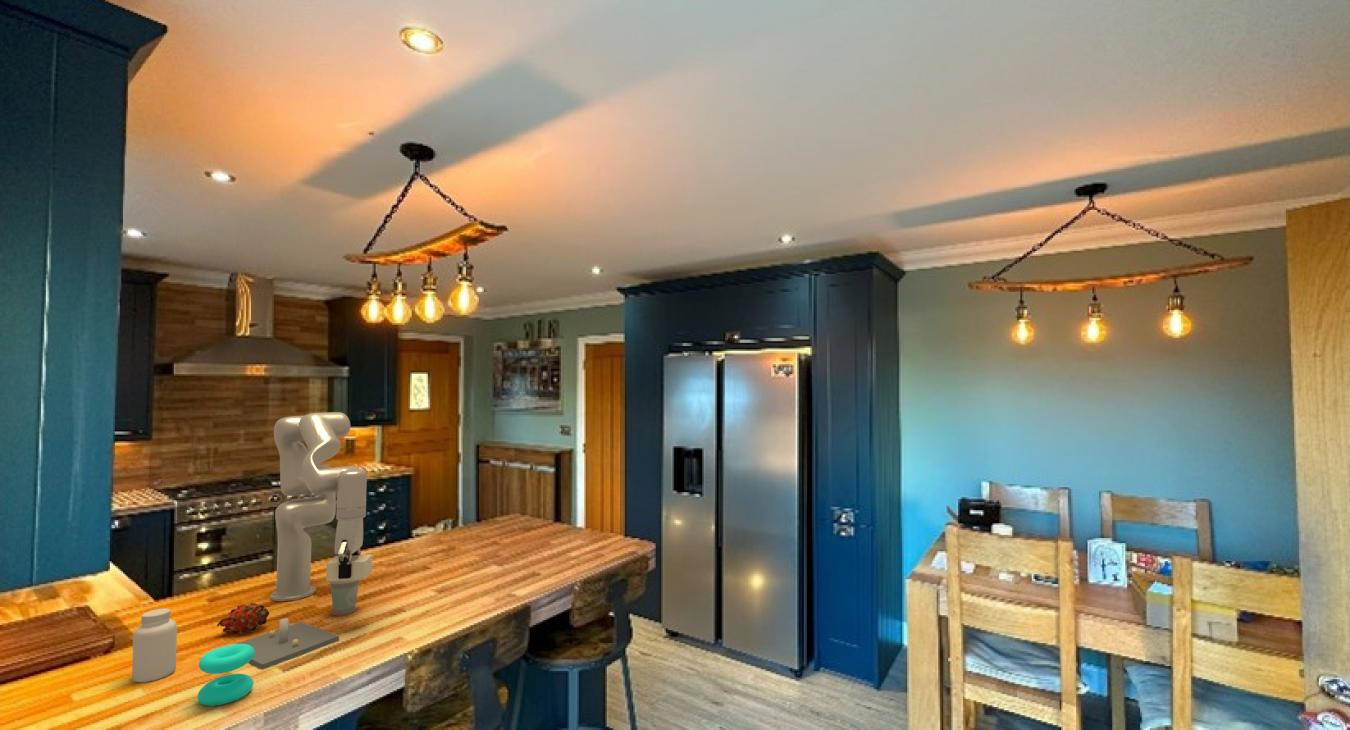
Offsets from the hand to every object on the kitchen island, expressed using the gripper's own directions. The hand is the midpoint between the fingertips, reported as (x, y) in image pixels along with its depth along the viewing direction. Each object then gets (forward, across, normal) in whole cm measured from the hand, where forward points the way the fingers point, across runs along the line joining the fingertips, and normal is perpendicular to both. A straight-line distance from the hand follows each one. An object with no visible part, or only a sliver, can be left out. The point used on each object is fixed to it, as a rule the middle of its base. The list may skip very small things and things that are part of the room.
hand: (349, 573), depth 169 cm
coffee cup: (+16, -13, -5) cm, 21 cm away
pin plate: (+16, +10, -13) cm, 22 cm away
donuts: (+16, +35, -14) cm, 41 cm away
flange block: (+1, 0, 0) cm, 1 cm away
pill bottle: (+16, +21, -36) cm, 45 cm away
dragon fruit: (+16, -2, -28) cm, 32 cm away
